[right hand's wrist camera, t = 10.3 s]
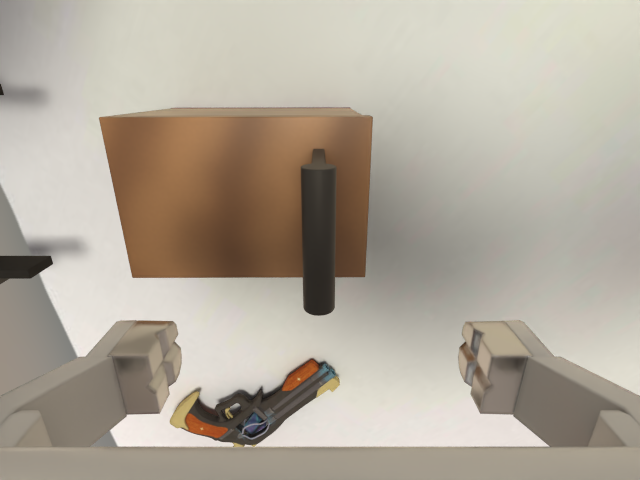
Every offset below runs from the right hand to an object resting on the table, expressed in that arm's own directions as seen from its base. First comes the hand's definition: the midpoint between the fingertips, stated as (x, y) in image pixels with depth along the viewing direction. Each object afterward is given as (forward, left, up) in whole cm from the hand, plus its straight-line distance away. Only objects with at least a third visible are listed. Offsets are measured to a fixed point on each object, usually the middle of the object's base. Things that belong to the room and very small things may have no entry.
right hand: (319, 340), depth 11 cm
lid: (+3, +3, -15) cm, 16 cm away
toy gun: (-14, +24, -26) cm, 38 cm away
